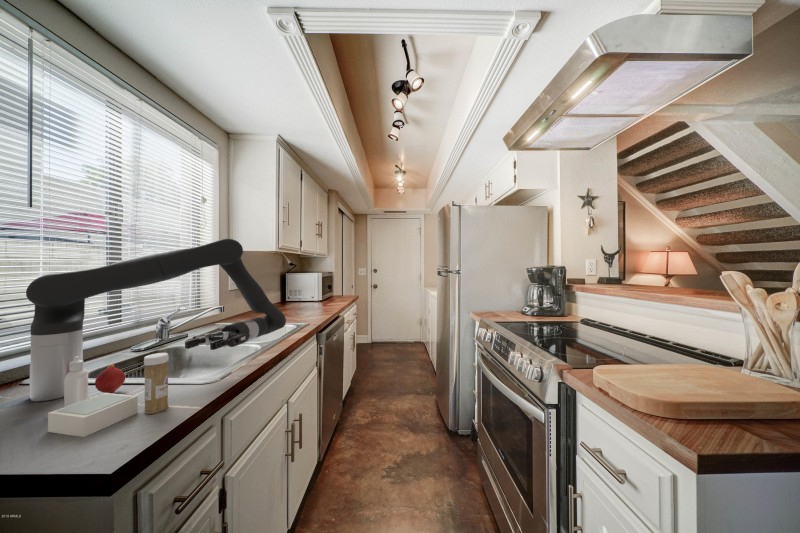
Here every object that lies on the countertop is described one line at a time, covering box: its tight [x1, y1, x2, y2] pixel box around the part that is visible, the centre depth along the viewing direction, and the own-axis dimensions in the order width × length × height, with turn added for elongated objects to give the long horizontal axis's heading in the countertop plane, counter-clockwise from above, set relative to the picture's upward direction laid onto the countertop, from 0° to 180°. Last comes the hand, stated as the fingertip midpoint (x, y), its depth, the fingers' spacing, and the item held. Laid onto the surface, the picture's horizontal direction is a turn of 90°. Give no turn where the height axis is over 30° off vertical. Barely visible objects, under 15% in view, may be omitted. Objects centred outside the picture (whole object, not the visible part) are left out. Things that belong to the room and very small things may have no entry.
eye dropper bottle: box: [63, 356, 89, 407], centre depth 73 cm, size 4×6×12 cm
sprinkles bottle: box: [143, 352, 169, 415], centre depth 70 cm, size 5×5×14 cm
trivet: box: [47, 392, 139, 438], centre depth 64 cm, size 10×10×4 cm
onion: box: [94, 363, 126, 394], centre depth 79 cm, size 6×6×8 cm
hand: (198, 345), depth 81 cm, fingers open, 8 cm apart
